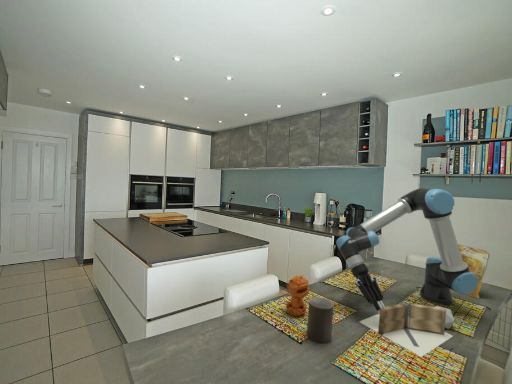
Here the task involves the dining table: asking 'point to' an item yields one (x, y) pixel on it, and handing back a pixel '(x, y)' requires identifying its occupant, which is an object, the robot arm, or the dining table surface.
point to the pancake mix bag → (475, 264)
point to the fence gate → (391, 318)
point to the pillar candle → (320, 320)
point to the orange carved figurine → (297, 295)
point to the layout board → (410, 337)
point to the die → (448, 318)
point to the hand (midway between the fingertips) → (385, 317)
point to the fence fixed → (425, 318)
